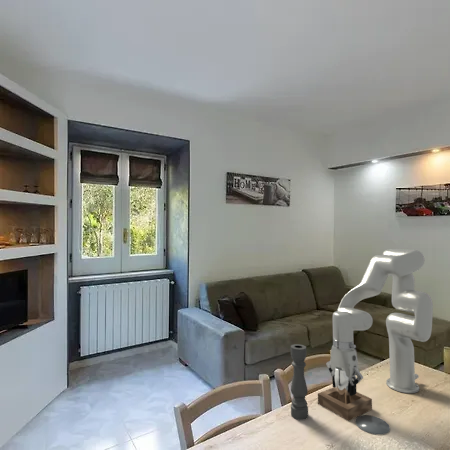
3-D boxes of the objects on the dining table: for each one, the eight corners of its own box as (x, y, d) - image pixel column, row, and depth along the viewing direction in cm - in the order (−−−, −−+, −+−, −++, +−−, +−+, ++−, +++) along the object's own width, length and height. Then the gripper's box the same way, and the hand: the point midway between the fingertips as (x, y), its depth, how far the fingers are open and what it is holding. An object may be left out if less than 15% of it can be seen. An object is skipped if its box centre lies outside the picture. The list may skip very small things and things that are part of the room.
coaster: (367, 412, 119) (367, 411, 119) (396, 427, 110) (396, 426, 110) (348, 422, 113) (348, 421, 113) (377, 438, 104) (377, 437, 104)
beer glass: (355, 412, 119) (354, 371, 120) (336, 410, 121) (335, 370, 121) (352, 402, 126) (351, 364, 127) (333, 401, 128) (333, 363, 128)
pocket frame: (341, 394, 133) (341, 384, 133) (372, 409, 121) (371, 398, 121) (317, 403, 126) (317, 393, 126) (348, 421, 114) (348, 409, 114)
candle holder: (308, 412, 120) (307, 344, 121) (307, 421, 114) (306, 350, 115) (292, 409, 122) (291, 343, 123) (289, 418, 116) (288, 348, 117)
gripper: (369, 348, 119) (370, 397, 118) (331, 336, 134) (332, 379, 133) (356, 352, 115) (357, 403, 114) (319, 339, 130) (320, 384, 129)
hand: (344, 390), depth 124 cm, fingers open, 7 cm apart
